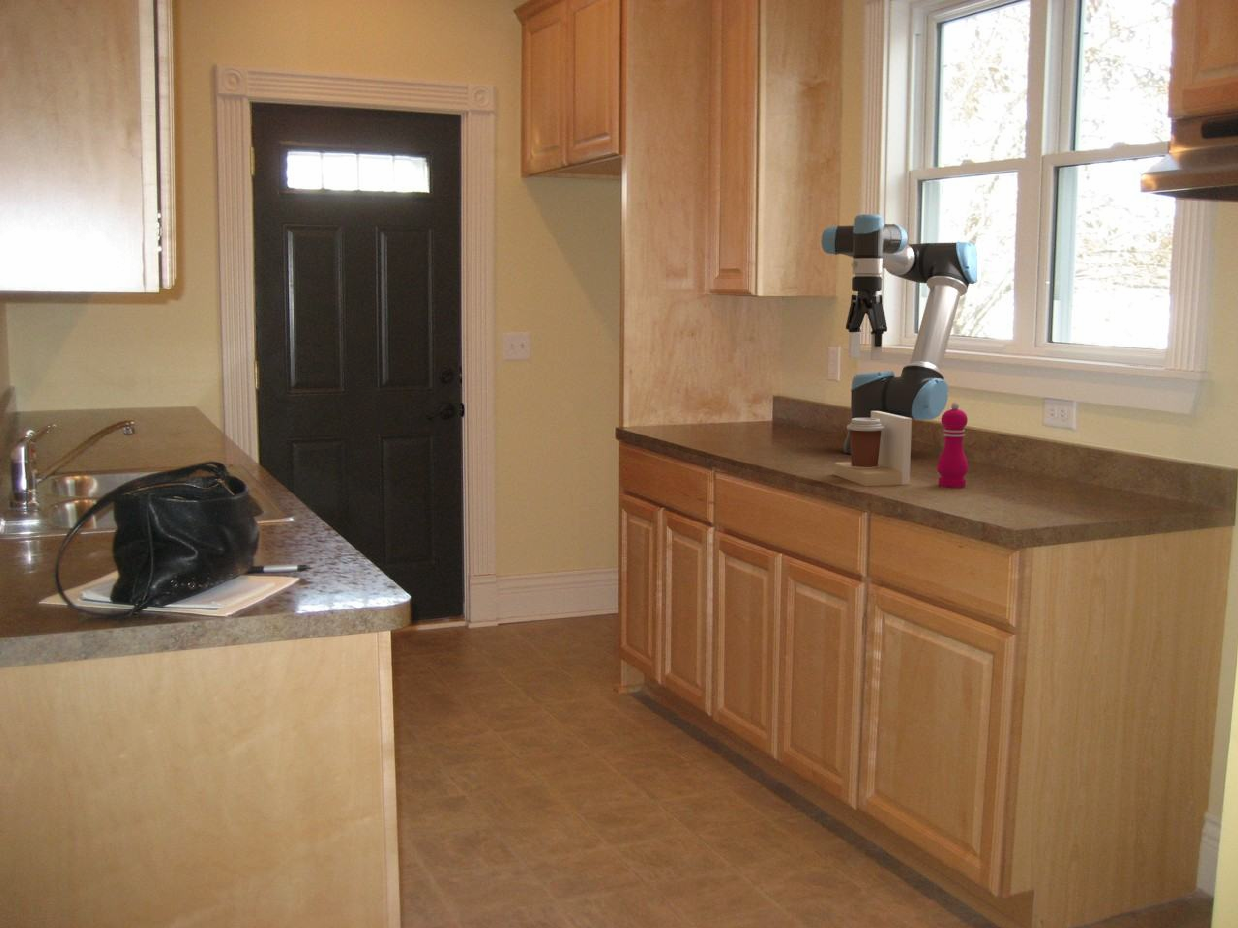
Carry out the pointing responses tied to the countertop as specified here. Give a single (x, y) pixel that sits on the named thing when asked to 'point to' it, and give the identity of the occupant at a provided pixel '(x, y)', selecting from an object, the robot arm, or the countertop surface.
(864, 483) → the board
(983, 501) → the countertop surface
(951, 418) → the pepper mill
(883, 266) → the robot arm
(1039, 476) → the countertop surface
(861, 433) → the coffee cup
